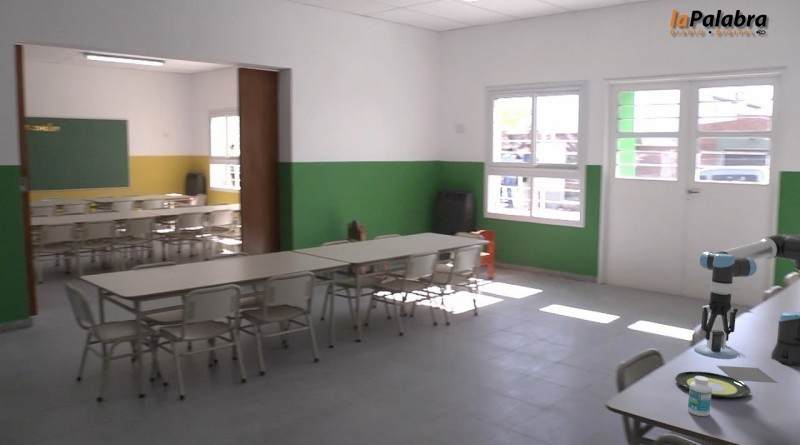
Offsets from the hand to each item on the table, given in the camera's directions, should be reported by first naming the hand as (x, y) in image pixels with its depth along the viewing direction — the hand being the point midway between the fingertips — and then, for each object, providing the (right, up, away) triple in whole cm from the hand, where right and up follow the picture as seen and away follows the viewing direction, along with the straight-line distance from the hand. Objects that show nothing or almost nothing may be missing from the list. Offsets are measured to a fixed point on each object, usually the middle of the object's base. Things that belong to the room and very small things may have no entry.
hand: (715, 347), depth 262 cm
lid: (0, -2, 0) cm, 2 cm away
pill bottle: (-18, -20, -24) cm, 36 cm away
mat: (+22, -16, +18) cm, 33 cm away
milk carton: (+31, -10, +63) cm, 71 cm away
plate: (-1, -17, +2) cm, 18 cm away
